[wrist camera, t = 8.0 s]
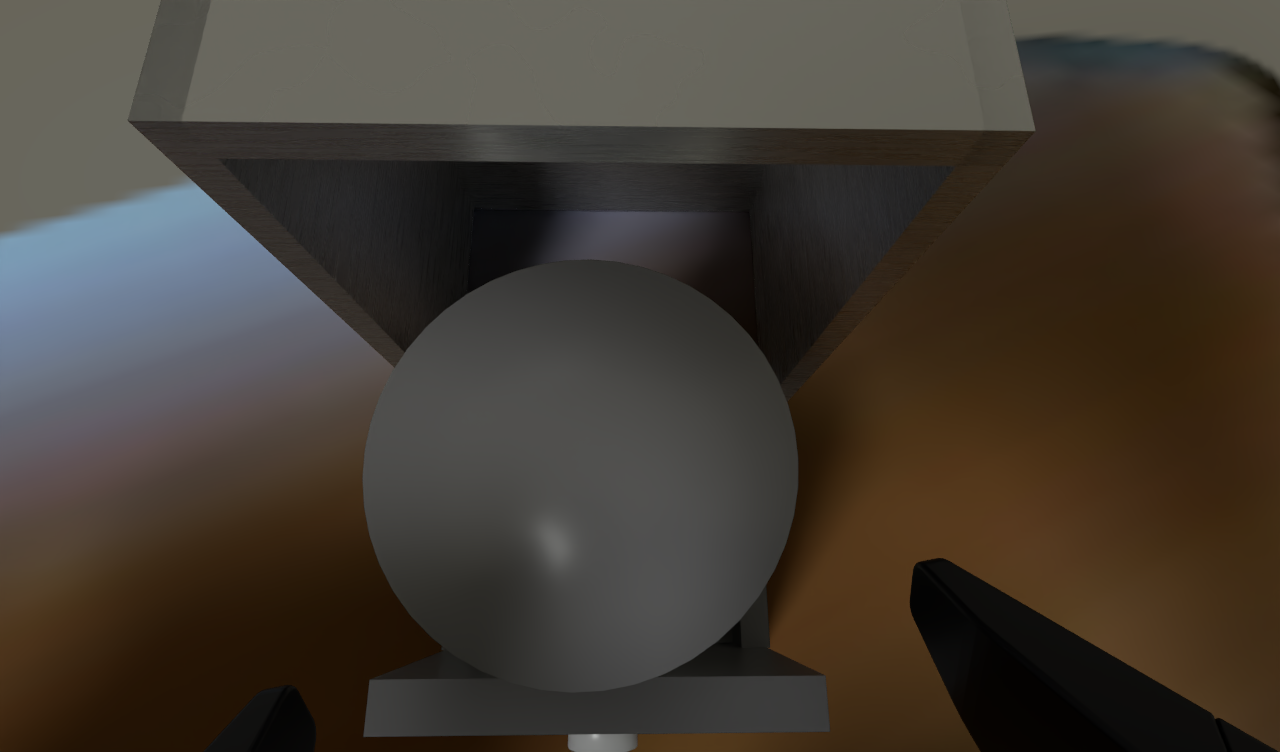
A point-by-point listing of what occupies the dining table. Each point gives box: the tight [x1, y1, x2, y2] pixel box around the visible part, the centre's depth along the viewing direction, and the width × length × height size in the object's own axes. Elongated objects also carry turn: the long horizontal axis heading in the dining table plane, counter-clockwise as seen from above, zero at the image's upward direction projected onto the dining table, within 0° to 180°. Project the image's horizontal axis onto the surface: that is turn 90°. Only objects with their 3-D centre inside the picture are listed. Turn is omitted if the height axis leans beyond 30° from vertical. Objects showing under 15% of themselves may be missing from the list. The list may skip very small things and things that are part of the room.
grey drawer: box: [363, 585, 830, 752], centre depth 18 cm, size 10×10×8 cm
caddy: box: [128, 0, 1036, 402], centre depth 17 cm, size 9×12×15 cm
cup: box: [363, 260, 798, 693], centre depth 15 cm, size 6×6×12 cm
